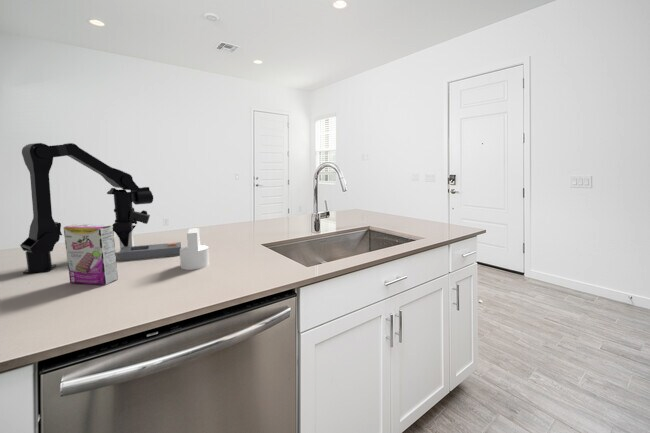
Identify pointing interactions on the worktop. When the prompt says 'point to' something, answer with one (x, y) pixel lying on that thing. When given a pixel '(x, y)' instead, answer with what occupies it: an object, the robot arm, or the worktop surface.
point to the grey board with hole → (149, 251)
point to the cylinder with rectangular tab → (194, 252)
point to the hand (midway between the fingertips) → (127, 245)
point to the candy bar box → (91, 254)
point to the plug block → (131, 242)
